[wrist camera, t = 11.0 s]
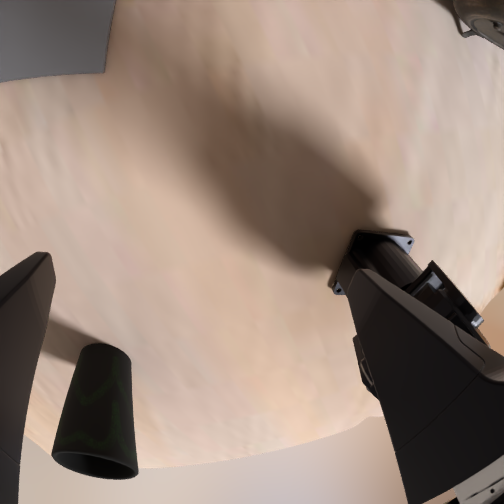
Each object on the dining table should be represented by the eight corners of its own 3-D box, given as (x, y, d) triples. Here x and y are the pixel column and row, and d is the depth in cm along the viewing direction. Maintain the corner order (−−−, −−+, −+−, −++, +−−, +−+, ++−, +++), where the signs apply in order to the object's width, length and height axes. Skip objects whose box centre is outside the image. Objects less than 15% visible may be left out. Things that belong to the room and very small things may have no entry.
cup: (61, 335, 26) (35, 445, 16) (133, 336, 28) (125, 456, 18) (84, 379, 30) (72, 474, 21) (147, 381, 32) (146, 481, 22)
